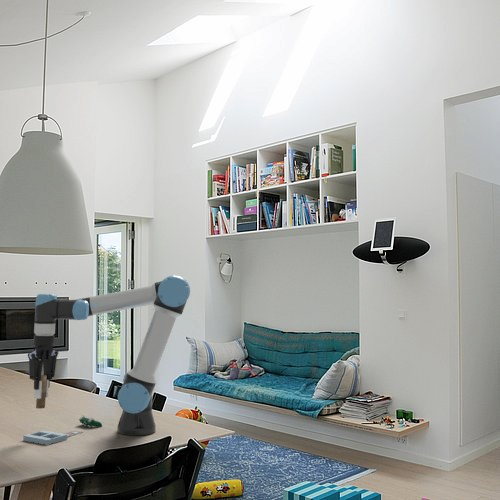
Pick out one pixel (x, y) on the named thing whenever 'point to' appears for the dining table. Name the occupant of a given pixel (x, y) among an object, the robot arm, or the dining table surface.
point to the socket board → (44, 437)
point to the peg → (42, 393)
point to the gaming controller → (90, 422)
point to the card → (72, 433)
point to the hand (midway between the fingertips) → (41, 397)
